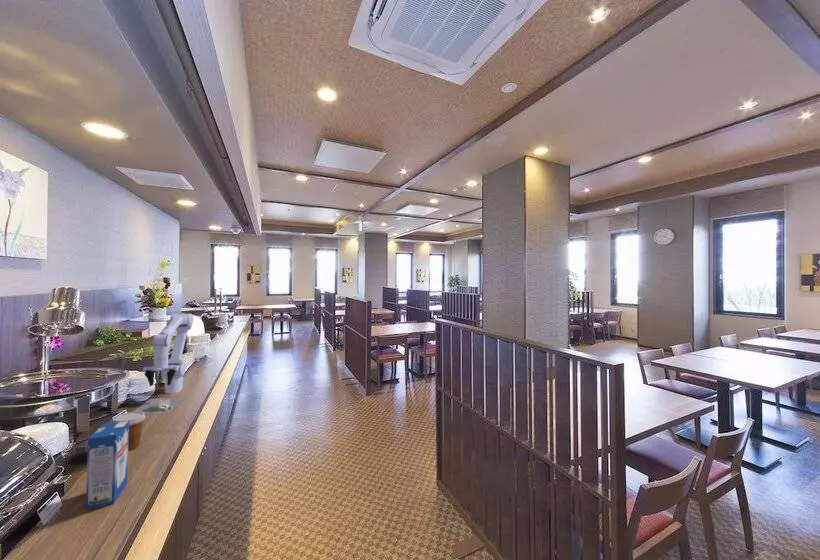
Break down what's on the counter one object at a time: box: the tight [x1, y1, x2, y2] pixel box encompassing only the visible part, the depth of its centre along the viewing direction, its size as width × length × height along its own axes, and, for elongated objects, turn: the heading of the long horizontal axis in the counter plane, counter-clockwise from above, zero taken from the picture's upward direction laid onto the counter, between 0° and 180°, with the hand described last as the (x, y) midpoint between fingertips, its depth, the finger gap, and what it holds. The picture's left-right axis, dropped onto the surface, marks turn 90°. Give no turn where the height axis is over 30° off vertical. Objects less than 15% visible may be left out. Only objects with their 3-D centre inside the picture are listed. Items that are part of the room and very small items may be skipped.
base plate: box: [132, 396, 186, 415], centre depth 161 cm, size 20×16×5 cm
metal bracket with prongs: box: [151, 397, 174, 411], centre depth 158 cm, size 8×5×4 cm, turn 75°
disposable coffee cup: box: [111, 411, 146, 452], centre depth 125 cm, size 10×10×12 cm
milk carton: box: [85, 421, 129, 510], centre depth 98 cm, size 10×6×20 cm, turn 24°
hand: (160, 385), depth 166 cm, fingers open, 7 cm apart
